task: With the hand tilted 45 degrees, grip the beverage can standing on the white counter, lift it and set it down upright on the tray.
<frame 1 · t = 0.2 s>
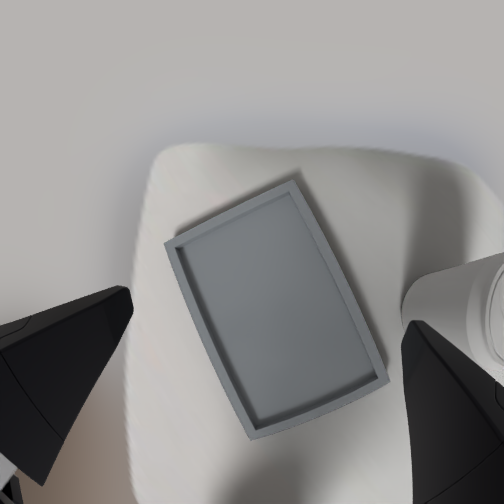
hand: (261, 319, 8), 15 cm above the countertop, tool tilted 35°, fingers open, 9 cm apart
tray: (275, 313, 22), on the countertop
beverage can: (429, 311, 20), on the countertop
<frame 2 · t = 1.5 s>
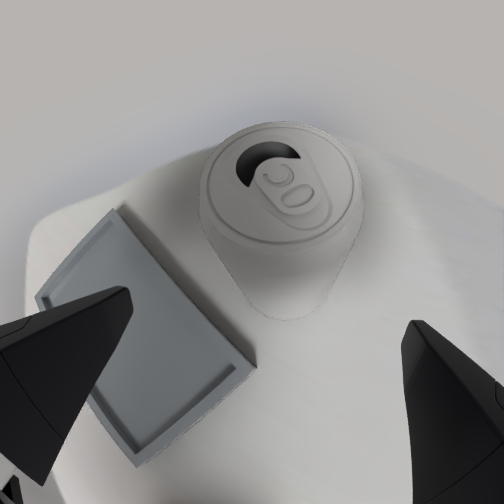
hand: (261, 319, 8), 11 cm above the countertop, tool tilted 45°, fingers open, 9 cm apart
tray: (123, 332, 20), on the countertop
beverage can: (286, 278, 21), on the countertop
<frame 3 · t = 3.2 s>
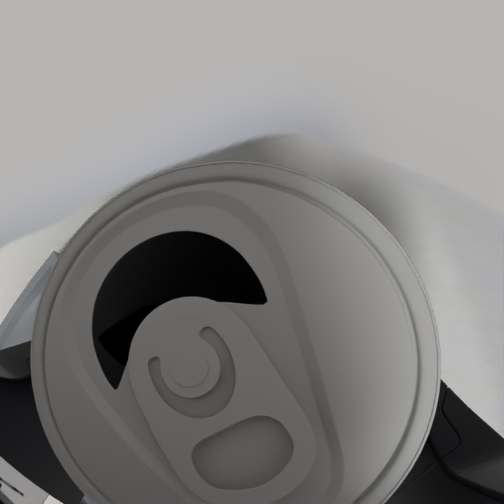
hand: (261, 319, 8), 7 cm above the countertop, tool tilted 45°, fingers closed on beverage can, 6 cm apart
tray: (74, 407, 14), on the countertop
beverage can: (270, 363, 14), on the countertop, touching gripper
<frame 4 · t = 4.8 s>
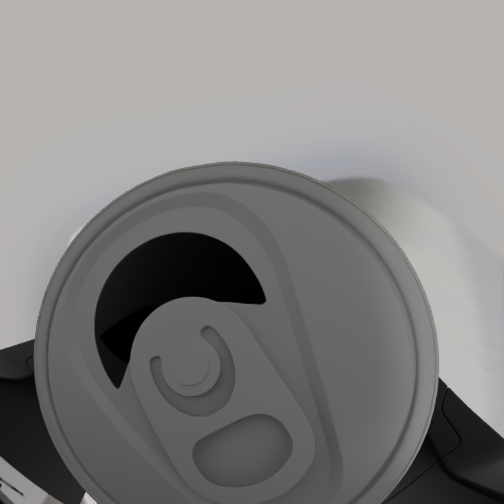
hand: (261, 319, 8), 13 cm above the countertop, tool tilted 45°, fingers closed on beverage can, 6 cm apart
beverage can: (272, 362, 14), point 6 cm above the countertop, touching gripper
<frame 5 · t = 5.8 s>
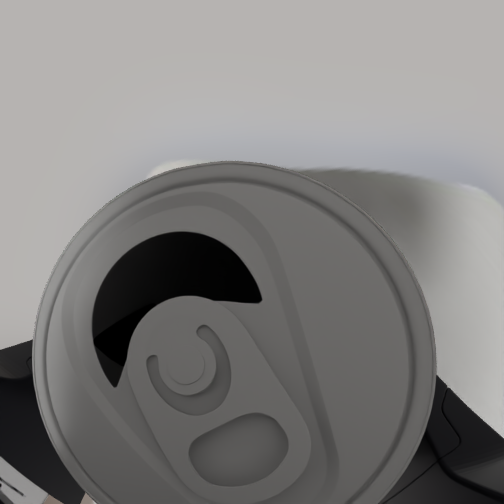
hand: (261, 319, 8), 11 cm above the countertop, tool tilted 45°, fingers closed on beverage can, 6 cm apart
beverage can: (272, 362, 14), point 4 cm above the countertop, touching gripper
when the fingers open (8 cm above the countertop, at t = 6.6 s): beverage can stays where it is, resting on tray.
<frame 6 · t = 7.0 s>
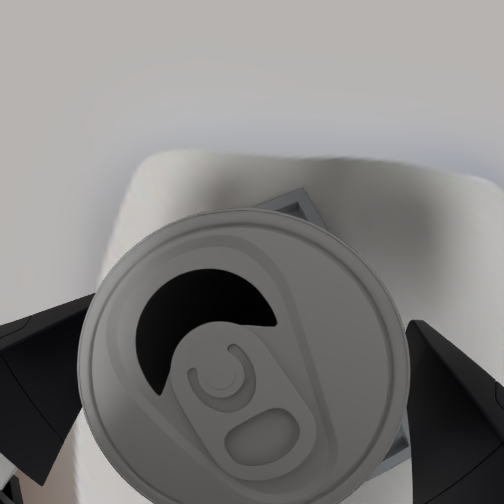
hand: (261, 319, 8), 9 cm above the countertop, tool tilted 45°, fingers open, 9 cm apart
tray: (272, 363, 16), on the countertop
beverage can: (273, 364, 15), point 1 cm above the countertop, touching tray
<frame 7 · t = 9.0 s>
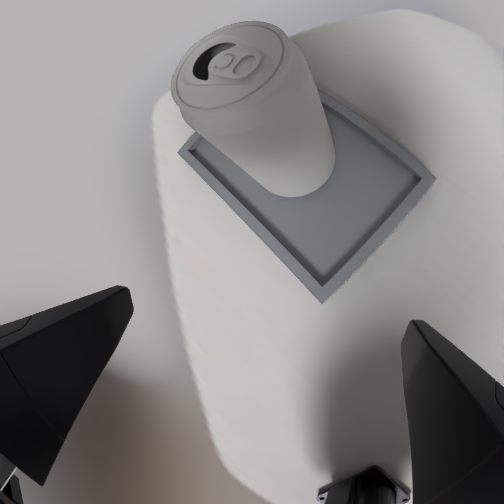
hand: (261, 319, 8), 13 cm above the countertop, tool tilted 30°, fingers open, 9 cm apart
tray: (296, 164, 22), on the countertop
beverage can: (296, 161, 21), point 1 cm above the countertop, touching tray
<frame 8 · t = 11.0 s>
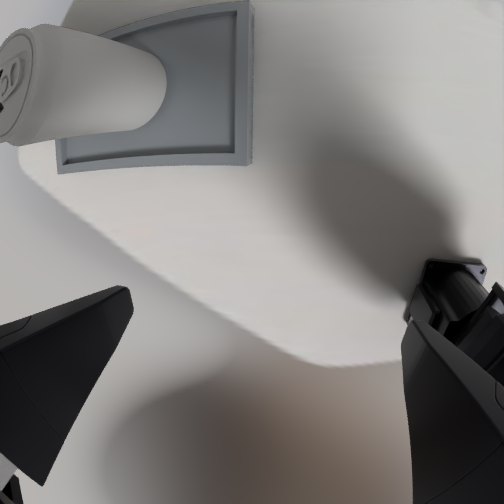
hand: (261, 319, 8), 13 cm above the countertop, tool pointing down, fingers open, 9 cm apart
tray: (140, 92, 18), on the countertop
beverage can: (137, 91, 18), point 1 cm above the countertop, touching tray
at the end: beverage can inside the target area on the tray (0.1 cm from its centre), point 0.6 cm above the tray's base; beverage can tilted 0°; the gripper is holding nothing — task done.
